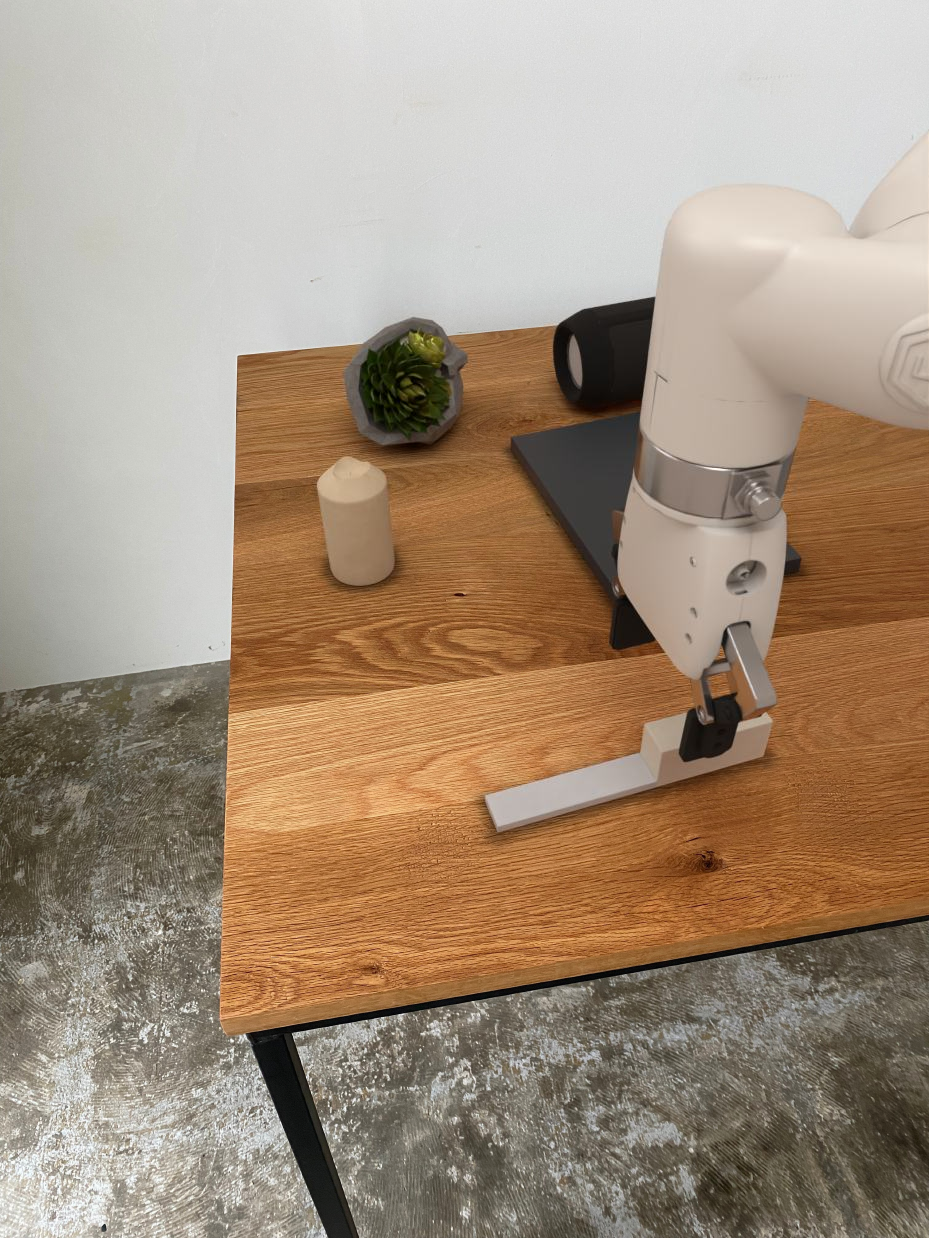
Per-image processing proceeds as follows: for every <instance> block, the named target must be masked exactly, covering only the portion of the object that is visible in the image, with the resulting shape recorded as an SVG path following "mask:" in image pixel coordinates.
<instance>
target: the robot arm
mask: <svg viewBox="0 0 929 1238" xmlns="http://www.w3.org/2000/svg"><path fill="white" fill-rule="evenodd" d="M663 234H664V235H663V240H662V246H661V251H660V259H659V268H658V274H657V275H658V276H657V283H656V290H655V296H656V298H655V306H654V313H653V321H652V329H651V337H650V345H649V352H648V362H647V370H646V378H645V385H644V392H643V398H642V399H641V400H642V401H641V409H640V412H641V415H640V423H639V430H638V438H637V446H636V454H635V461H634V468H633V477H632V481H631V485H630V489H629V493H628V497H627V502H626V507H625V508H622V509H617V510H613V511H612V524H613V533H614V540H616V541H617V544H614V545H613V547H612V551H611V554H612V557H613V558H614V561H615V566H616V570H617V574H618V577H616V578H614V579H613V580H612V589H613V592H614V594H615V596H616V597H620V599H617V600H614V603H613V606H612V614H611V621H610V629H609V638H608V644H609V646H610V647H611V649H612V650H614V651H622V650H626V649H630V648H634V647H638V646H643V645H646V644H651V643H654V642H655V641H657V643H658V644H659V646H660V647H661V649H662V650H663V651H664V653H665V655H666V656H667V657H668V659H669V660H670V661H671V662H672V664H673V666H675V668H676V669H677V670H678V671H679V672H680V673H681V674H683V675H684V676H686V677H687V678H689V683H690V690H691V694H692V699H693V704H694V707H692V708H690V709H689V710H688V711H686V712H687V715H686V720H685V724H684V729H683V733H682V738H681V742H680V747H679V756H680V757H681V759H682V760H683V762H690V761H693V760H697V759H701V758H704V757H705V758H713V757H717V756H720V755H722V754H724V753H725V752H726V751H728V750H729V749H731V747H732V745H733V741H734V738H735V734H736V731H737V727H738V723H739V722H743V721H746V720H750V719H754V718H758V717H761V716H762V714H764V713H765V712H767V713H768V711H770V710H772V709H774V708H775V707H776V706H777V705H778V702H779V701H778V696H777V693H776V690H775V688H774V685H773V683H772V680H771V678H770V675H769V673H768V671H767V668H766V665H765V663H764V662H765V660H766V657H767V654H768V652H769V649H770V645H771V641H772V639H773V633H774V630H775V624H776V620H777V616H778V611H779V605H780V601H781V595H782V594H781V593H782V589H783V588H782V587H783V581H784V576H785V575H784V567H785V558H786V541H787V538H788V529H787V525H788V524H787V514H786V512H785V511H784V509H783V508H782V507H783V501H784V496H785V492H786V488H787V485H788V482H789V476H790V473H791V469H792V466H793V462H794V457H795V454H796V450H797V447H798V443H799V439H800V438H799V437H800V433H801V429H802V426H803V423H804V418H805V414H806V411H807V407H808V403H809V399H812V400H814V401H818V402H821V403H824V404H827V405H830V406H833V407H835V408H838V409H841V410H844V411H846V412H849V413H852V414H856V415H858V416H861V417H864V418H867V419H870V420H872V421H873V420H874V421H877V422H881V423H884V424H887V425H891V426H895V427H900V428H904V429H909V430H910V429H912V430H919V431H929V129H928V130H927V131H925V133H924V134H923V135H922V136H920V138H919V139H918V140H917V141H916V142H915V143H914V144H913V145H912V146H911V147H910V149H909V150H907V152H906V153H905V154H904V155H903V156H902V158H900V159H899V161H898V162H897V163H896V164H895V165H894V166H893V167H892V168H891V169H890V170H889V171H888V172H887V173H886V175H885V176H884V177H883V178H882V179H881V180H880V181H879V183H878V184H877V185H876V186H875V187H874V189H873V190H872V191H871V192H870V194H869V195H868V196H867V198H866V200H865V201H864V202H863V204H862V205H861V206H860V208H859V210H858V212H857V214H856V215H855V216H854V219H853V221H852V223H851V224H850V226H849V227H848V229H847V225H846V223H845V221H844V219H843V217H842V214H841V213H839V212H838V210H837V209H836V208H835V207H834V206H832V204H831V203H829V202H827V200H825V199H823V198H821V197H819V196H816V195H813V194H812V193H809V192H805V191H802V190H799V189H795V188H791V187H788V186H783V185H782V186H781V185H777V184H775V185H774V184H765V183H734V184H725V185H720V186H715V187H711V188H706V189H704V190H703V189H702V190H701V191H698V192H696V193H695V194H693V195H691V196H689V197H687V198H686V199H685V200H683V201H682V202H681V203H680V204H679V205H678V206H677V207H676V208H675V210H674V211H673V213H672V215H671V216H670V218H669V220H668V222H667V225H666V227H665V231H664V233H663ZM787 542H788V541H787ZM721 648H722V651H723V653H724V656H725V657H723V658H719V659H717V657H719V655H720V652H721ZM721 674H725V675H726V679H727V686H728V690H729V693H728V694H724V695H720V696H716V697H713V696H712V690H711V687H710V686H711V685H710V679H709V677H712V676H717V675H721Z"/></svg>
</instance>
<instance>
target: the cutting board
mask: <svg viewBox="0 0 929 1238" xmlns="http://www.w3.org/2000/svg"><path fill="white" fill-rule="evenodd" d="M640 415H641V411H636V412H632V413H631V412H630V413H626V414H621V415H616V416H612V417H611V416H610V417H606V418H601V419H595V420H591V421H585V422H580V423H576V424H575V423H574V424H570V425H565V426H559V427H555V428H551V429H550V428H549V429H543V430H540V431H535V432H529V433H524V434H518V435H515V436H511V437H510V451H511V452H512V454H513V456H514V457H515V459H516V460H517V461H518V463H519V464H520V466H521V467H522V470H524V472H525V473H526V475H527V476H528V478H529V479H530V481H531V482H532V484H533V485H534V487H535V488H536V490H537V491H538V493H539V494H540V496H541V497H542V498H543V500H544V502H545V503H546V504H547V506H548V508H549V509H550V511H551V512H552V514H553V515H554V517H555V518H556V520H557V521H558V523H559V524H560V526H561V528H563V530H564V531H565V533H566V534H567V536H568V537H569V539H570V540H571V542H572V544H573V545H574V546H575V548H576V549H577V551H578V552H579V554H580V555H581V557H582V558H583V560H584V561H585V563H586V565H587V566H588V567H589V569H590V570H591V572H592V573H593V574H594V576H595V578H596V579H597V581H598V582H599V583H600V585H601V587H602V588H603V589H604V591H605V593H606V594H607V596H608V597H609V599H610V600H611V602H612V604H614V600H617V599H620V597H616V596H615V594H614V592H613V589H612V580H613V579H614V578H616V577H618V574H617V570H616V566H615V561H614V558H613V557H612V554H611V551H612V547H613V545H614V544H617V541H616V540H614V533H613V524H612V511H613V510H617V509H622V508H625V507H626V502H627V497H628V493H629V489H630V485H631V481H632V477H633V468H634V461H635V454H636V446H637V438H638V430H639V423H640ZM802 559H803V557H802V556H801V554H799V553H798V552H797V550H796V549H794V548H793V546H792V545H791V544H790V543H789V542H788V541H786V558H785V567H784V575H783V576H785V575H786V576H787V575H790V574H793V573H794V574H795V573H798V572H799V571H800V567H801V564H802Z"/></svg>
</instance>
